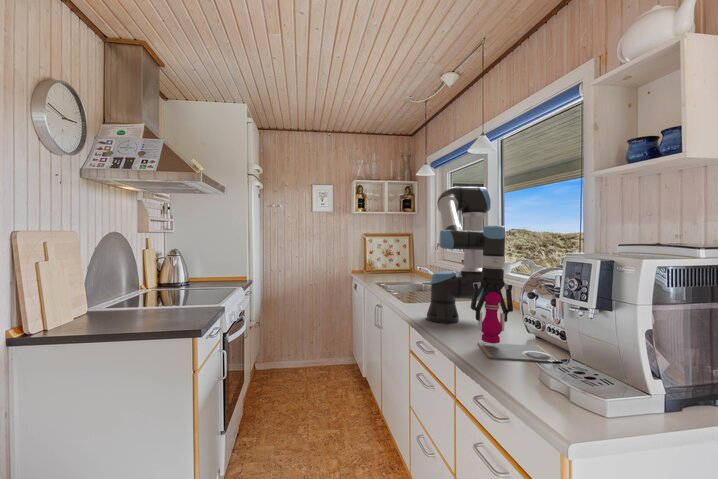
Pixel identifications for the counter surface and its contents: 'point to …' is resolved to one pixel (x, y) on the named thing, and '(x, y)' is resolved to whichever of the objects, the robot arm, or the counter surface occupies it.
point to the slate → (515, 352)
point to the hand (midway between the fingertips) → (490, 329)
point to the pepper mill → (491, 319)
